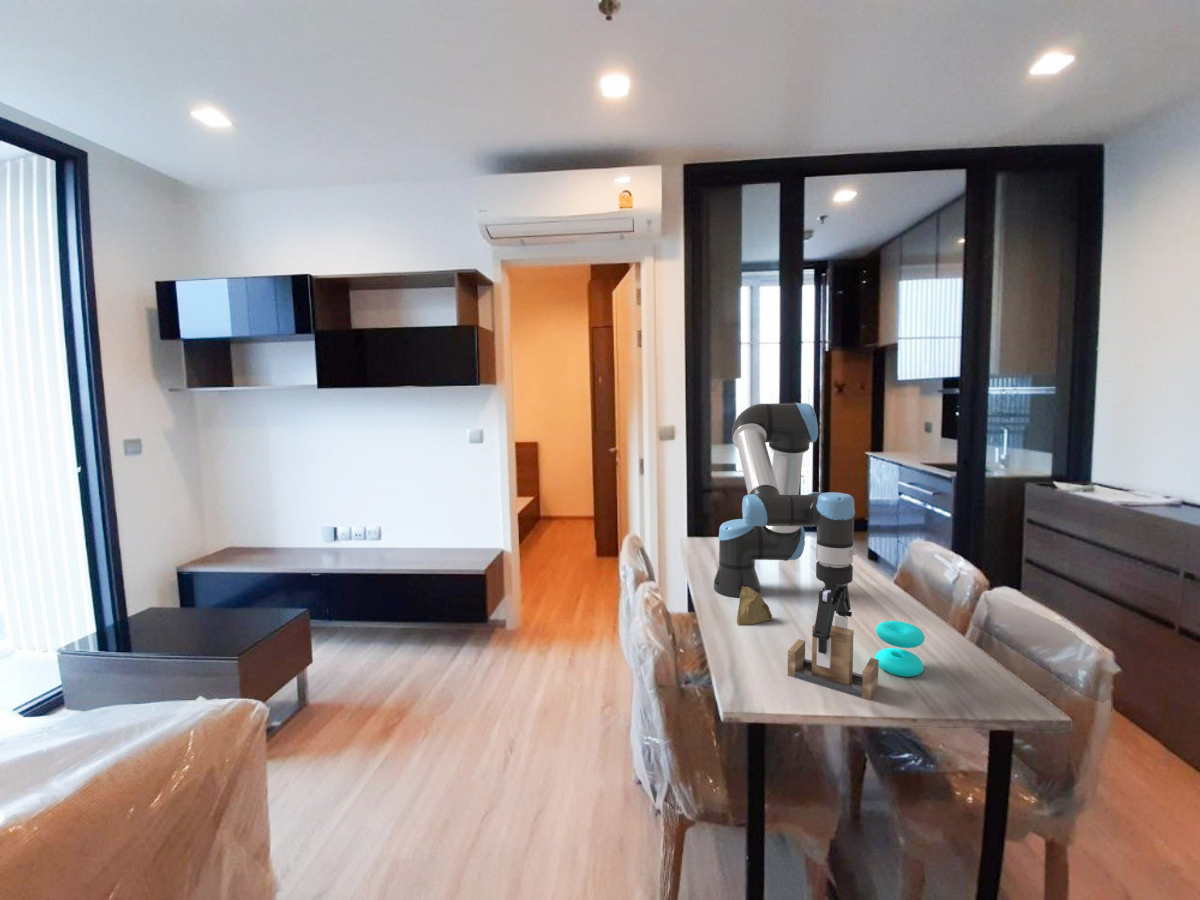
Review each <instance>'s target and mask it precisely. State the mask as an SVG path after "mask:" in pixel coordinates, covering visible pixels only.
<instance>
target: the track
mask: <svg viewBox="0 0 1200 900" xmlns="http://www.w3.org/2000/svg"><path fill="white" fill-rule="evenodd" d="M794 678H795V679H799V680H802V681H805V682H809V683H812V684H815V685H819V686H822V687H825V688H828V689H831V690H835V691H839V692H842V693H845V694H849V695H851V696H855V697H859V698H862V684H863V673H859V672H858V673H857V672H855V671H853V673H852V683H851V684H850V685H849V684H846V683H842V682H839V681H835V680H832V679H829V678H825V677H822V676H818V675H815V674H812V659H807V658H805V659H804V661H803V666H802V668H801V669H800V670H798V669H796V670H795V677H794ZM862 699H863V698H862Z"/></svg>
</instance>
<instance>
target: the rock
mask: <svg viewBox="0 0 1200 900" xmlns="http://www.w3.org/2000/svg"><path fill="white" fill-rule="evenodd" d="M738 603H739V604H738V610H737V616H736V624H737V626H741V625H742V626H743V625H744V626H745V625H747V626H748V625H757V624H759V623H764V622H767V621H771V620H773V614H772V612H771V610H770V607H769V605H768V603H766V602H765V601H764V599H763V597H762V596H761V594H760V593H757V592H756V591H754V590H753V589H752V588H750V587H743V586H742V588H741V592H740V597H739V601H738Z"/></svg>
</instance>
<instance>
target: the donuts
mask: <svg viewBox="0 0 1200 900" xmlns="http://www.w3.org/2000/svg"><path fill="white" fill-rule="evenodd" d="M875 632H876V635H877V637H878V638H879V639H880V640H881V641H883V642H884V643H885V644H888V645H890V646H893V647H886V648H882V649H880V650H879V651H877V653H876V654H875V657H874V659H878V660H879V667H878V668H880V669H881V670H883V671H884V672H887V673H888V674H891V675H895V676H899V677H906V678H907V677H916V676H919V675H920V674H921V673H922V672H923V670H924V663H923V660H921V658H920V657H919V656H918V655H916V654H915V653H913V652H911V651H909V650H906V649H912V648H917V647H919V646H921V645H923V643H924V642H925V634H924V632H923V631H922V629H920V628H919V627H917V626H915V625H914V624H911V623H907V622H904V621H898V620H887V621H882V622H880V623H879V624H877V626H876V628H875Z"/></svg>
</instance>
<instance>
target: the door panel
mask: <svg viewBox="0 0 1200 900" xmlns="http://www.w3.org/2000/svg"><path fill="white" fill-rule="evenodd" d="M814 629H815V623H814V624H813V625H812V637H811V638H812V640H811V641H812V643H811V646H812V647H811V648H812V649H811V650H812V651H811V661H812V674H815V675H818V676H822V677H825V678H829V679H832V680H835V681H839V682H842V683H846V684H849V685H850V684H851V683H852V673H853V672H854V671H853V667H854V665H853V664H854V630H853V629H850V628H848V629H846V628H842V627H837V626H835V625H833V624H832V627H831V632H830V638H831V665H830V668H826V667H823V666H819V665H817V638H816V637H814V636H813V632H814ZM822 633H823V632H822Z"/></svg>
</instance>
